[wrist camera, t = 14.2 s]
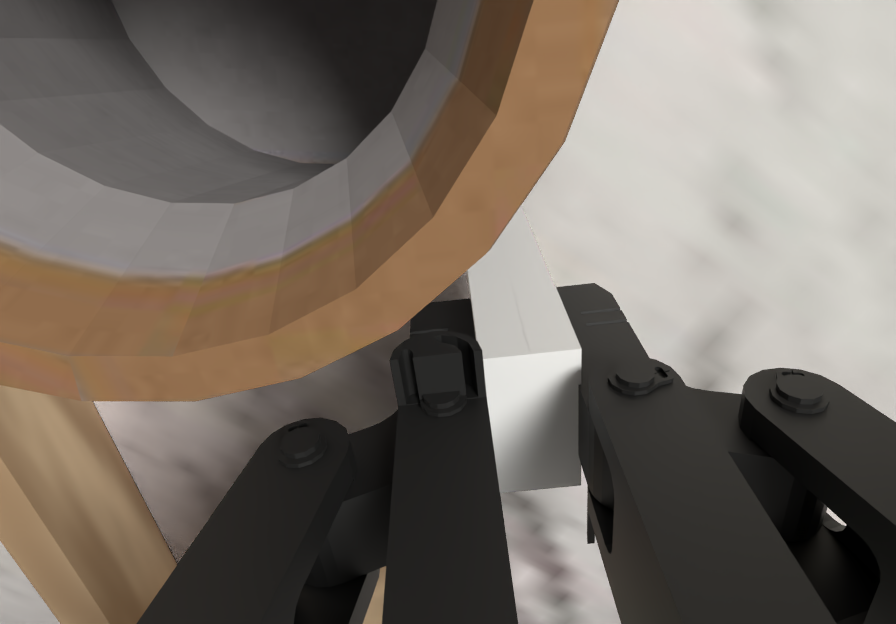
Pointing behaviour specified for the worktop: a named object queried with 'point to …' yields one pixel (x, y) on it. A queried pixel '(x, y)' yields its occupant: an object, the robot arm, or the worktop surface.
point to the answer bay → (82, 514)
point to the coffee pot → (259, 176)
